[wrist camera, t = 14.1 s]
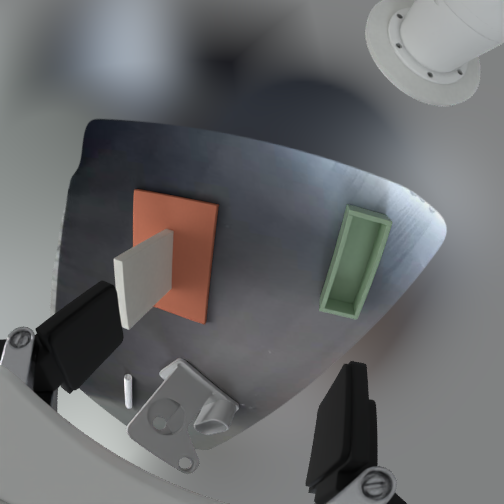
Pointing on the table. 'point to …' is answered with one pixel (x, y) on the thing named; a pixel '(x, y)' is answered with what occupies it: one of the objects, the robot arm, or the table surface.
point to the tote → (354, 261)
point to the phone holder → (181, 414)
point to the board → (143, 276)
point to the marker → (128, 390)
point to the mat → (180, 247)
